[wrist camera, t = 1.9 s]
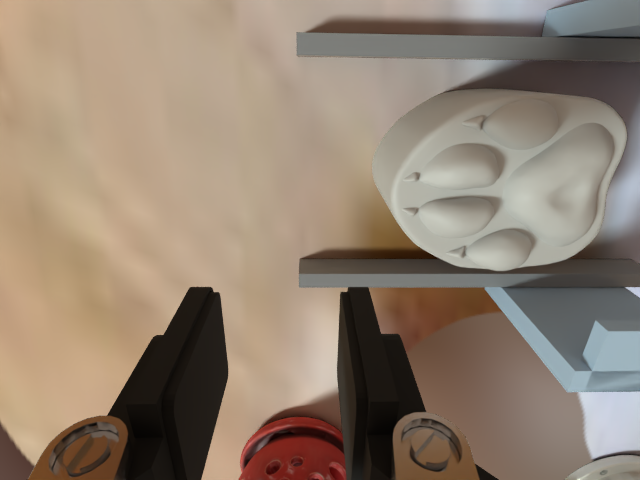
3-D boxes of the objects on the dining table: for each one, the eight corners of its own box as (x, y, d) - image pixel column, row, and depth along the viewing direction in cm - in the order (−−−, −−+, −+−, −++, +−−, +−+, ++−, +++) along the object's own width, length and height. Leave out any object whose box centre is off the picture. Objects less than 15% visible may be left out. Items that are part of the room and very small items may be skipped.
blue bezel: (698, 13, 24) (990, -29, 14) (597, 288, 33) (731, 390, 23) (547, 10, 24) (729, -35, 14) (484, 288, 33) (567, 392, 22)
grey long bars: (716, 43, 25) (757, 40, 23) (626, 271, 32) (650, 287, 30) (297, 36, 24) (296, 32, 22) (299, 271, 32) (299, 287, 29)
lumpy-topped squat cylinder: (531, 224, 30) (608, 278, 23) (370, 230, 30) (392, 287, 22) (560, 85, 26) (669, 92, 18) (373, 92, 26) (402, 101, 18)
